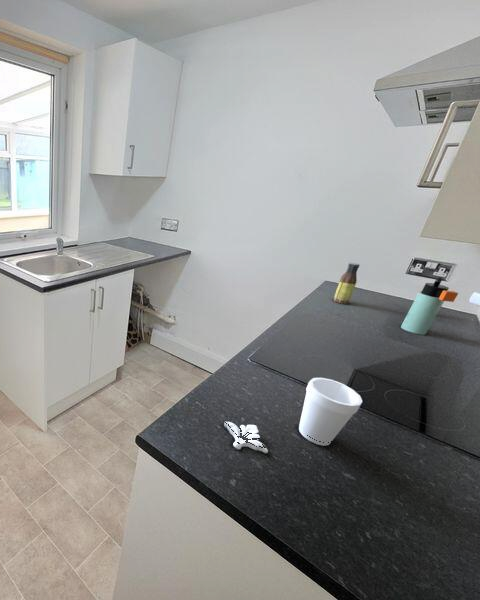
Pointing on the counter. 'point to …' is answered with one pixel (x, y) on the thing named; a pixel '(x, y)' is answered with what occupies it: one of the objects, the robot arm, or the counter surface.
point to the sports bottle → (424, 308)
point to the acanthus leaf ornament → (242, 442)
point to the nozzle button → (448, 296)
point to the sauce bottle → (346, 284)
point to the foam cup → (327, 409)
